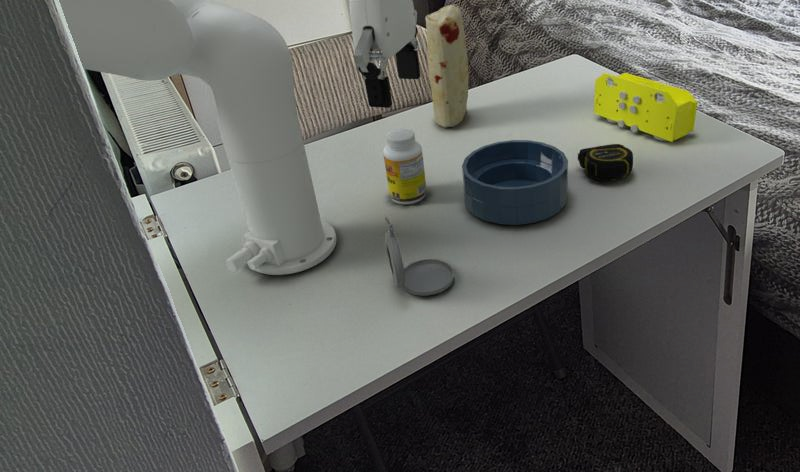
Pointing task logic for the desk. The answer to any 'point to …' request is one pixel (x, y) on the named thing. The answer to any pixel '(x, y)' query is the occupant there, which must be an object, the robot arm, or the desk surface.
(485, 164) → the blue faceted bowl
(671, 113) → the yellow toy chassis
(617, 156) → the tape measure
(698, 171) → the desk surface
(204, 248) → the desk surface
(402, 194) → the supplement bottle
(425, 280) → the pocket watch
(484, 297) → the desk surface
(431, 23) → the food model
